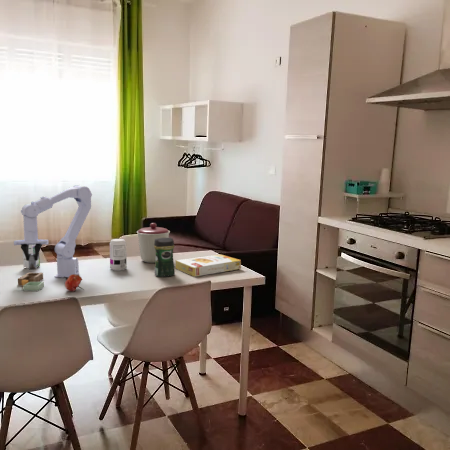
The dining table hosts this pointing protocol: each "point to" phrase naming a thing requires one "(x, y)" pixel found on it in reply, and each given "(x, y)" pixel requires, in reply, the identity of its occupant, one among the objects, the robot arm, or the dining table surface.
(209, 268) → the cereal box
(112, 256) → the supplement can
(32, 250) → the syrup box
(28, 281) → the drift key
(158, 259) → the coffee jar
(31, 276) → the socket block
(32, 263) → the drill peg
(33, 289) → the tray
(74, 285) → the pomegranate
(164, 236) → the canister
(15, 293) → the dining table surface
